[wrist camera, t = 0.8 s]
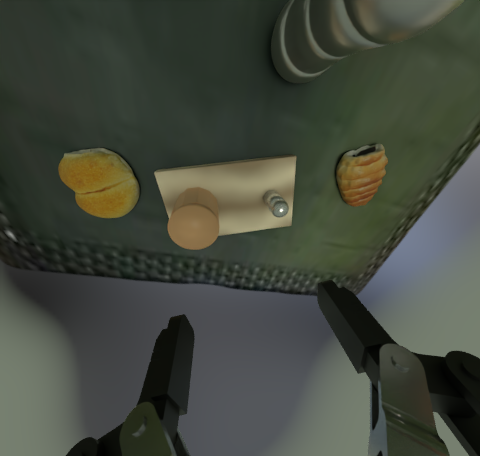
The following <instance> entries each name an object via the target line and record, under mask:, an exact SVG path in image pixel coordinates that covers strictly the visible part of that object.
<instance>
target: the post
mask: <svg viewBox="0 0 480 456" xmlns="http://www.w3.org/2000/svg"><path fill="white" fill-rule="evenodd" d="M263 200H264V202H265V204H266V205H267V207H268V208H269V210H270V212H271V213H272V214H273V215H274V216H275V217H283V216H285V215H286V214H287V213H288V211H289V206H288V203H287V202H286V201H285V200H284V199H283V198H282V197H281V195H280V194H279V193H278V192H277V191H275V190H269V191H267V192H266V193H265V194H264V196H263Z"/></svg>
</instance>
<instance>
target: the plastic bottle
mask: <svg viewBox="0 0 480 456" xmlns="http://www.w3.org/2000/svg"><path fill="white" fill-rule="evenodd" d="M464 1H465V0H289V1H288V2H287V3H286V5H285V6H284V7H283V9H282V10H281V12H280V14H279V16H278V18H277V20H276V24H275V27H274V30H273V34H272V40H271V55H272V60H273V64H274V66H275V68H276V70H277V72H278V73H279V75H280V76H281V77H282V78H283V79H285V80H286V81H288V82H291V83H307V82H310V81H312V80H314V79H316V78H317V77H318V76H320V75H321V74H322V73H324V72H325V71H326V70H327V69H328V68H329V67H330V66H331V65H333V64H334V63H336V62H337V61H339V60H340V59H342V58H344V57H347V56H349V55H352V54H354V53H357V52H360V51H362V50H366V49H371V48H375V47H380V46H384V45H388V44H393V43H397V42H401V41H404V40H406V39H409V38H413V37H415V36H417V35H419V34H421V33H423V32H425V31H427V30H429V29H430V28H431V27H432V26H434V25H435V24H436V23H438V22H439V21H440V20H442V19H443V18H444V17H446V16H447V15H448V14H449V13H451V12H452V11H453V10H455V9H456V8H457V7H458V6H460V5H461V4H462V3H463V2H464Z"/></svg>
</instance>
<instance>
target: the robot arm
mask: <svg viewBox="0 0 480 456" xmlns="http://www.w3.org/2000/svg"><path fill="white" fill-rule="evenodd" d="M318 304H319V307H320V309H321V311H322V313H323V315H324V316H325V318H326V320H327V321H328V323H329V325H330V326H331V328H332V330H333V332H334V333H335V335H336V337H337V338H338V340H339V342H340V344H341V345H342V347H343V349H344V350H345V352H346V354H347V356H348V357H349V359H350V361H351V362H352V364H353V366H354V368H355V369H356V371H357V373H363V372H366V374H367V375H368V377H369V379H370V436H369V446H368V456H449V452H448V449H447V447H446V445H445V443H444V441H443V440H442V439H440V437H439V436H438V433H437V430H436V425H435V420H434V415H433V412H438V414H439V415H440V416H441V418H442V419H443V420H444V422H445V423H446V425H447V426H448V427H449V428H450V430H451V431H452V433H453V434H454V435H455V437H456V438H457V440H458V441H459V442H460V443H461V445H462V446H463V448H464V449H465V450H466V452H467V453H468V454H469V456H480V359H479V358H478V357H476V356H473V355H471V354H469V353H466V352H462V351H451V352H449V353H448V354H447V355H446V356H445V357H439V356H431V355H422V354H417V353H413V352H411V351H409V350H408V349H406V348H404V347H403V346H400V345H398V344H397V343H396V342H395V341H394V340H393V339H392V338H391V337H390V336H389V335H388V334H387V332H386V331H385V330H384V329H383V328H382V326H381V325H380V324H379V323H378V322H377V321H376V319H375V318H374V317H373V316H372V315H371V313H370V312H369V311H367V309H366V308H365V307H364V305H363V304H361V302H360V301H359V299H358V298H357V297H356V296H355V294H354V293H352V292H351V291H349V290H348V289H346V288H345V287H342V288H338V287H337V285H336V284H335V283H334V282H333V281H332V280H328V281H324V282H320V283H318ZM193 348H194V331H193V328H192V326H191V325H190V323H189V321H188V319H187V317H186V316H185V315H184V314H183V315H179V316H175V317H171V318H170V320H169V324H168V328H167V329H163V330H162V331H161V333H160V335H159V336H158V338H157V339H156V343H155V346H154V350H153V353H152V357H151V362H150V364H149V367H148V371H147V374H146V378H145V381H144V385H143V388H142V392H141V395H140V398H139V401H138V403H137V405H136V407H135V408H134V409H133V410H132V411H131V412H130V413H129V415H128V416H127V418H126V419H125V421H124V422H123V423H122V424H121V425H119V426H118V427H116V428H115V429H114V430H112V431H111V432H109V433H107V434H106V435H104V436H103V437H101V438H100V439H98V440H96V439H94V438H92V437H88V438H85V439H83V440H81V441H80V442H79V443H77V444H76V445H75V446H74V447H73V448H72V449H71V450H70V451H69V452H68V454H67V455H66V456H190V454H189V452H188V449H187V447H186V445H185V442H184V440H183V438H182V436H181V433H180V431H179V429H178V427H177V426H178V419H179V416H180V415H184V414H187V406H188V396H189V387H190V377H191V367H192V358H193Z"/></svg>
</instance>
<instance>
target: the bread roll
mask: <svg viewBox="0 0 480 456" xmlns="http://www.w3.org/2000/svg"><path fill="white" fill-rule="evenodd" d="M59 175H60V178H61V180H62V181H63V182H64V183H65V184H66V185H67V186H68V187H69V188H71V189H72V190H74V191H75V192H76V193H75V194H76V195H75V198H76V202H77V204H78V205H79V206H80V207H81V208H82V209H83V210H84V211H86V212H87V213H89V214H91V215H94V216H98V217H103V218H117V217H121V216H124V215H125V214H127V213H128V212H130V211H131V210H132V209H133V208H134V206H135V205H136V203H137V201H138V199H139V194H140V188H139V184H138V181H137V179H136V178H135V176H134V174H133V171H132V169H131V168H130V166H129V165H128V163H127V162H126V161H125V160H124V159H123V158H121V157H120V156H119V155H118V154H116V153H114V152H112V151H110V150H107V149H105V148H94V149H87V150H80V151H74V152H71V153H65V154H64V157H63V159H62V160H61V162H60V164H59Z"/></svg>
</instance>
